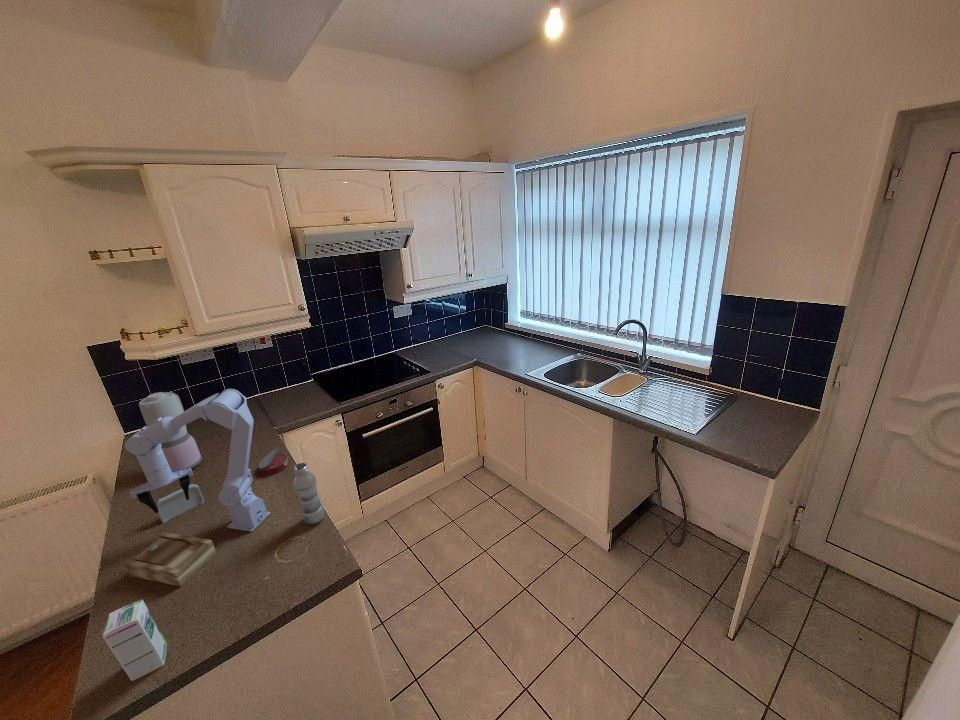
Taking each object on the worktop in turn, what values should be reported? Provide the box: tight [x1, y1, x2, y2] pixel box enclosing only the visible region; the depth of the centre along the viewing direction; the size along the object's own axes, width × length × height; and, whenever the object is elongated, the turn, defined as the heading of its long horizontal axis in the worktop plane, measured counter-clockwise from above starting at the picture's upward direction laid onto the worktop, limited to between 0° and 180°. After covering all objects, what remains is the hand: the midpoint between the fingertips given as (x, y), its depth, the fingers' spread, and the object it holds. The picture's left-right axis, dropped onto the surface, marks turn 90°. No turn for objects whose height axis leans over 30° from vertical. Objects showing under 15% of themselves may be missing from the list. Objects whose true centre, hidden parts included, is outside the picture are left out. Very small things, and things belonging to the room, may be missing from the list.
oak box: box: [123, 531, 218, 587], centre depth 108 cm, size 18×11×5 cm, turn 76°
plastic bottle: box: [292, 462, 325, 525], centre depth 118 cm, size 6×7×20 cm
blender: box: [138, 391, 203, 472], centre depth 150 cm, size 16×12×32 cm
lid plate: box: [133, 537, 189, 567], centre depth 108 cm, size 10×7×2 cm
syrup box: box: [102, 599, 168, 682], centre depth 81 cm, size 6×6×14 cm
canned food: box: [258, 446, 289, 477], centre depth 148 cm, size 11×10×10 cm
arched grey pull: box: [155, 483, 206, 524], centre depth 128 cm, size 2×12×8 cm, turn 141°
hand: (172, 504), depth 117 cm, fingers open, 7 cm apart
